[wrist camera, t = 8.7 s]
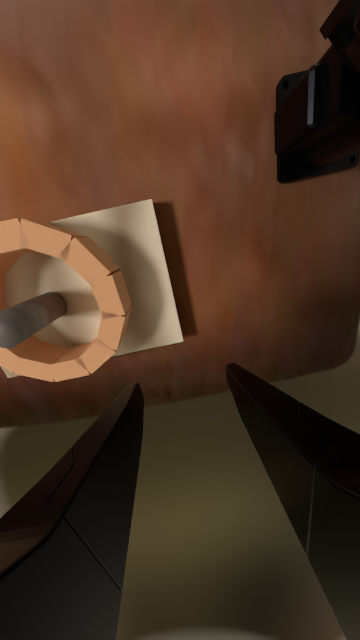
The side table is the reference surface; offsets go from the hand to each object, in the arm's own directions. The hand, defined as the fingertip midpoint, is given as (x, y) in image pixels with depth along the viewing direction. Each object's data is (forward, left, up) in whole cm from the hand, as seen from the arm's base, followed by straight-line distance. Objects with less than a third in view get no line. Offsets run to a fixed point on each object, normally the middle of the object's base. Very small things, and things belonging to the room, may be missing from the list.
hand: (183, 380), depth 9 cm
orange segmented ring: (+10, -3, -10) cm, 15 cm away
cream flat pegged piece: (+9, -3, -12) cm, 16 cm away
